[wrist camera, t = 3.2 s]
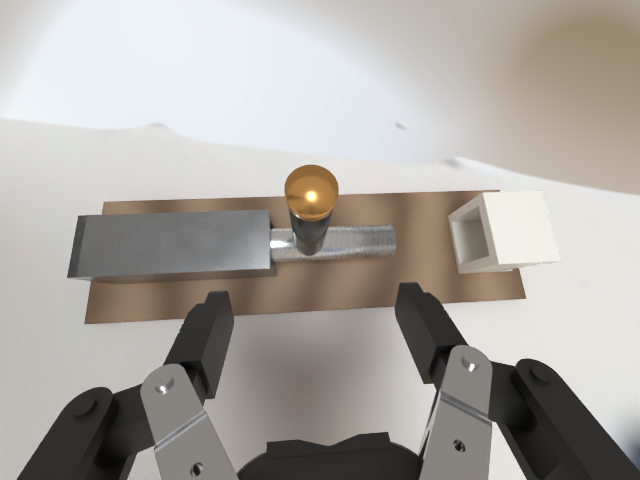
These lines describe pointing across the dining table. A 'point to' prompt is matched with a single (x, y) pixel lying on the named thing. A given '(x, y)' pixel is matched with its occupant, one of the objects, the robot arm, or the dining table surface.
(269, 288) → the base board
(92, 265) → the outer sleeve
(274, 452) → the robot arm
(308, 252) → the sliding bolt
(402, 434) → the dining table surface
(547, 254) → the socket
